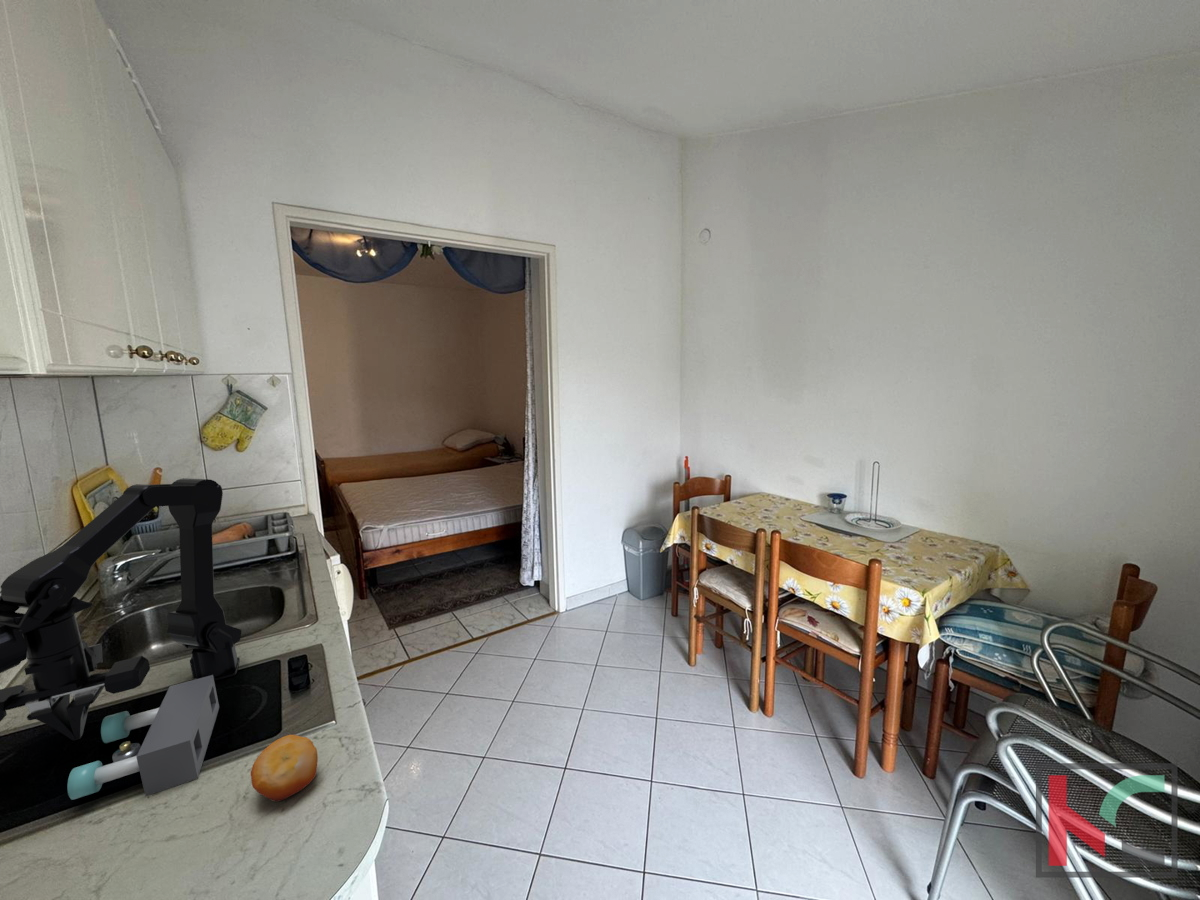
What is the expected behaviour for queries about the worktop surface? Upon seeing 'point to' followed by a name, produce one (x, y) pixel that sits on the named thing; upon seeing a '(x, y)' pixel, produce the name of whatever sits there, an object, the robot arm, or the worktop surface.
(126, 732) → the knob
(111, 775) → the knob
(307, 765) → the fruit
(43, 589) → the robot arm
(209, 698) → the mount
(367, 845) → the worktop surface
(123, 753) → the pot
